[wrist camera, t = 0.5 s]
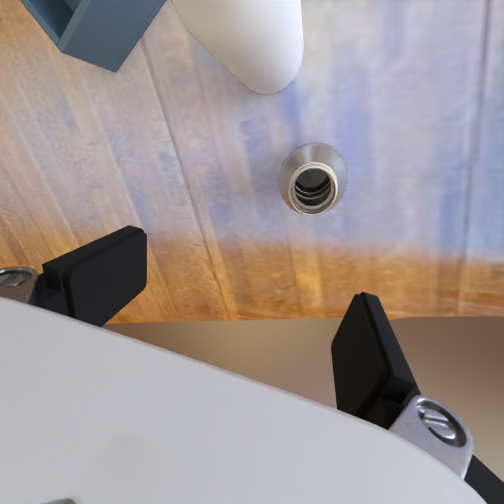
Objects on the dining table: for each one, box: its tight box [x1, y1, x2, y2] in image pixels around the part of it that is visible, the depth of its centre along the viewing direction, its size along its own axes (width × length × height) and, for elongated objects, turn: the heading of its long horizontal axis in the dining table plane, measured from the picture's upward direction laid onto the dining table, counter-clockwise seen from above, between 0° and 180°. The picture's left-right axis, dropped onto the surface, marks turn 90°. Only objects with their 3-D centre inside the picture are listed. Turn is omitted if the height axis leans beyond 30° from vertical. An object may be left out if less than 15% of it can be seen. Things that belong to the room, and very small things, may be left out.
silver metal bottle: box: [279, 143, 348, 216], centre depth 27 cm, size 6×7×20 cm
